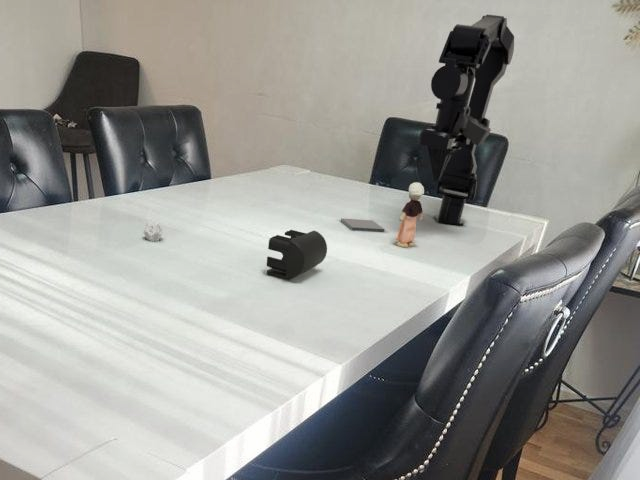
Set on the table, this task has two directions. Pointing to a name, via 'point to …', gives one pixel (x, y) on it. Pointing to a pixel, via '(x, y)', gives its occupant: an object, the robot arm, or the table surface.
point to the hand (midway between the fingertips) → (436, 180)
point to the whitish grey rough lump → (153, 231)
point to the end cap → (296, 253)
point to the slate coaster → (362, 225)
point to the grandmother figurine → (410, 216)
